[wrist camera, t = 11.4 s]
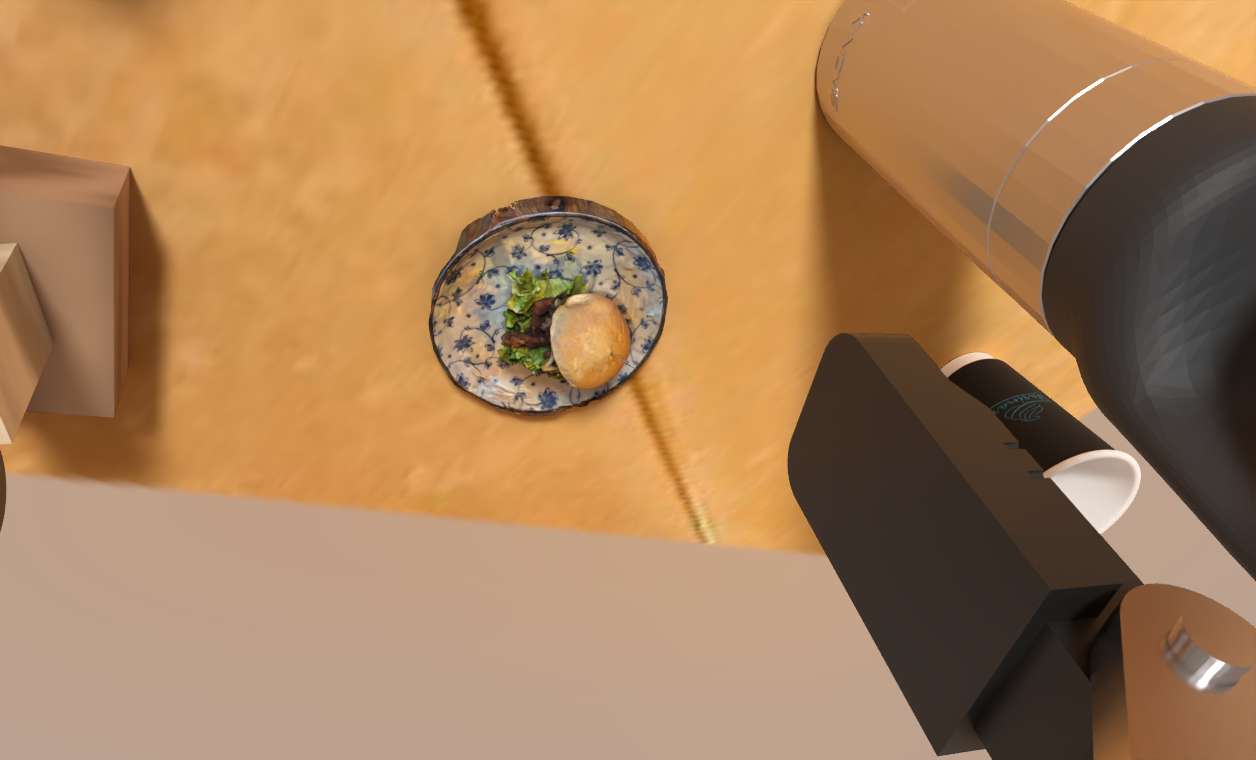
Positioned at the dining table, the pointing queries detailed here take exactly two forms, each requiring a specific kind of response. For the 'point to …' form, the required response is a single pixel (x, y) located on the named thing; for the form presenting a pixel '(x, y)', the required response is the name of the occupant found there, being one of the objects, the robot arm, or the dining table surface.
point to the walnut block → (73, 272)
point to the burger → (547, 305)
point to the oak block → (19, 341)
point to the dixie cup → (1052, 438)
